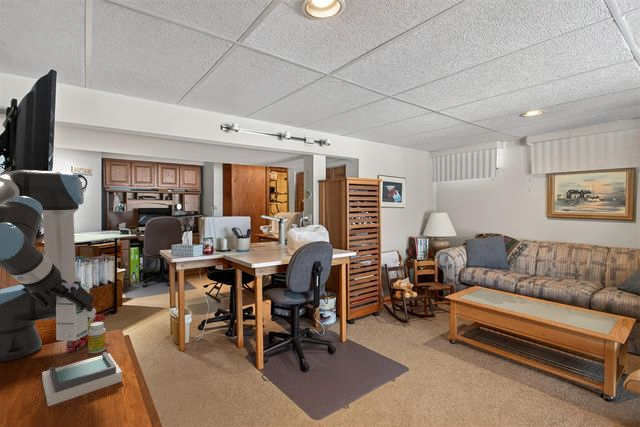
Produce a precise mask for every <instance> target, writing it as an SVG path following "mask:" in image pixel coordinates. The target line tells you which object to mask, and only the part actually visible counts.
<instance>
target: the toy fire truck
mask: <svg viewBox="0 0 640 427" xmlns="http://www.w3.org/2000/svg"><path fill="white" fill-rule="evenodd" d="M105 319H106V315H105V314H99V313H98V314H95V315H94V317H93V319H90V324H92V323H93V322H103V321H104V320H105ZM86 346H88V334H87V335H85V336H83V337H81V338H79V339H77V340H76V341H66V351H67V352H70V353H71V352H75V351H76V352H78V351H79V350H80V349H82V348H84V347H86Z"/></svg>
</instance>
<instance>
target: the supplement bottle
mask: <svg viewBox="0 0 640 427" xmlns="http://www.w3.org/2000/svg"><path fill="white" fill-rule="evenodd" d="M106 348H107V330H106V328H105V327H104V322H103V321H100V322H97V321H94V322H91V323H90V333H89V334H88V345H87V352H88V354H98V353H101V352H103V351H105V350H106Z"/></svg>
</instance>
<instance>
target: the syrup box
mask: <svg viewBox="0 0 640 427" xmlns="http://www.w3.org/2000/svg"><path fill="white" fill-rule="evenodd" d="M81 287H82V288H83V289H85V290H86V291H87V292H88V293H89V294H90V290H91V289H90V286H86V287H85V286H81ZM90 295H91V294H90ZM79 308H80V306H78V305H76V304H75V303H73V302H71V301H69V300H68V299H66V298H60V297H59V296H56V318H55V319H56V320H55V322H56V324H55V326H56V327H55V331H56V332H55V333H56V334H55V339H56V341H61V342H67V341H76V340H77V339H80V338H81V337H83V336H85V335H87V334H89V333H90V330H91V329H90V325H91V323H90V318H89V317H88V316H87V315H85V314H84V313H83V312H82V311H81V310H80V309H79Z"/></svg>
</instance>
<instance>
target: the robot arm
mask: <svg viewBox="0 0 640 427" xmlns="http://www.w3.org/2000/svg"><path fill="white" fill-rule="evenodd" d="M84 201H85V200H84V191H83V184H82V182H81V179H80V177H79V175H78V174H77V173H75V172H70V171H69V172H67V171H58V170H57V171H56V170H55V171H54V170H29V169H19V170H11V171H7V172H2V173H0V268H2V269H3V270H4V271H5V272H6V273H7V274H9V275H10V276H11V277H12V278H13V279H15V280H16V282H17V283H20V284H17V285H13V286H9V287H4V288H1V289H0V363H3V362H8V361H13V360H18V359H21V358H24V357H27V356H30V355H31V354H34V353H36V352H38V351H39V350H40V349H41V348H42V346H43V345H42V344H43V342H42V340H43V339H42V338H41V337H40V334H39V332H38V329H37V328H36V322H37V321H45V320H51V319H52V320H53V319H56V296H59V297H60V298H66V299H68V300H69V301H71V302H73V303H75V304H76V305H78V306H80V308H79V309H80V310H81V311H82V312H83V313H84V314H85V315H87V316H88V317H89V318H90V319H93V317H94V315H96V313H97V309H96V308H95V307H94V306H93V302H94V300H95V298H94V297H93V296H92V295H91V294H89V293H88V292H87V291H86V290H85V289H83V288H82V287H81V286H85V287H87V284H86V283H83V282H82V279H81V278H80V277H79V276H77V275H76V274H77V272H76V245H75V244H76V243H75V242H76V241H75V217H74V216H75V213H76V212H77V211H78V210H79V208H80V207H79V206H80V205H83V204H84ZM42 217H43V218H42ZM42 220H43V221H42ZM41 222H43V242H44V253H43V252H42V251H40V249H39V248H38V247H37V246H36V245H35V242H36V239H37V234H38V232H39V227H40V225H41Z"/></svg>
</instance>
